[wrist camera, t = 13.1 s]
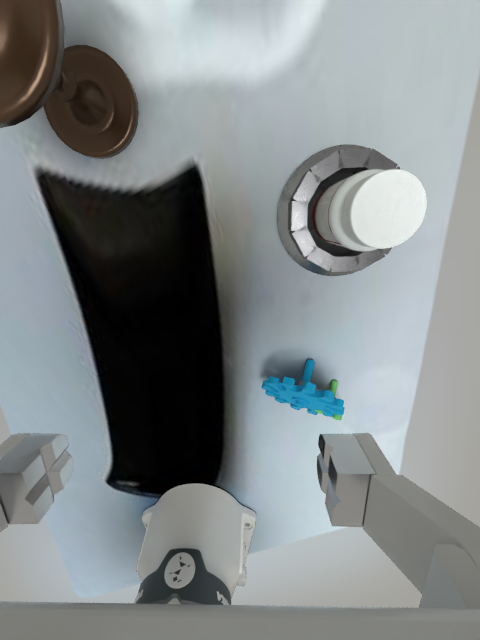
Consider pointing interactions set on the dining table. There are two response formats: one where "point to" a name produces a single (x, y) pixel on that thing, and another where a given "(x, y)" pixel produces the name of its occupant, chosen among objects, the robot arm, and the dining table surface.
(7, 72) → the candlestick
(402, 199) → the pill bottle
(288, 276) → the dining table surface
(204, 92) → the dining table surface
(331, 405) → the gear
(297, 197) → the notched hollow ring
